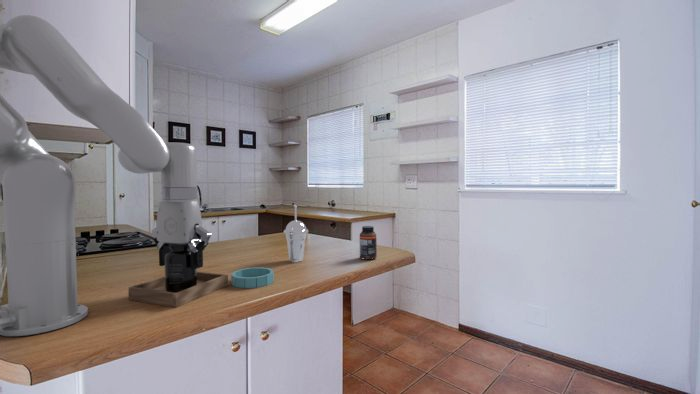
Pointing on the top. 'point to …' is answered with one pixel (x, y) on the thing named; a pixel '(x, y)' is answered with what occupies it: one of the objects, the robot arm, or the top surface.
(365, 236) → the supplement bottle
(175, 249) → the supplement bottle
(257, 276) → the holder ring
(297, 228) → the cup with straw
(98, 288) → the top surface
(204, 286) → the tray
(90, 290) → the top surface
